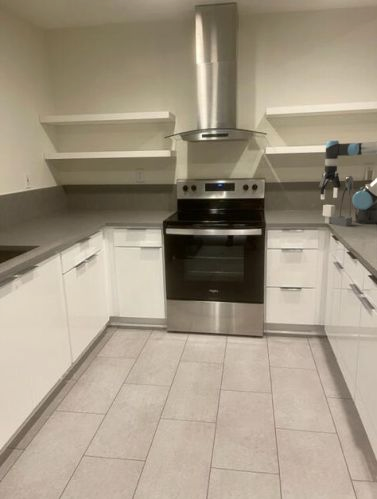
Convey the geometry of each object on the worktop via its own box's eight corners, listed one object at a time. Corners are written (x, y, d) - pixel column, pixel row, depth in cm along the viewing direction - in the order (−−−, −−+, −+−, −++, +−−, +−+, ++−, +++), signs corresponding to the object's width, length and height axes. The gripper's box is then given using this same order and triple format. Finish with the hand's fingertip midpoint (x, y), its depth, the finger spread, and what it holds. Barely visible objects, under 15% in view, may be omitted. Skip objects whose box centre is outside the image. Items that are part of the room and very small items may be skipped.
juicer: (356, 221, 254) (357, 175, 247) (338, 221, 259) (339, 176, 253) (358, 219, 262) (359, 175, 255) (341, 219, 267) (342, 175, 261)
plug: (326, 222, 257) (327, 204, 255) (334, 223, 253) (335, 205, 250) (322, 222, 255) (323, 205, 252) (330, 223, 250) (331, 206, 247)
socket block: (337, 223, 251) (338, 215, 250) (351, 225, 243) (352, 217, 242) (332, 224, 248) (332, 216, 247) (345, 226, 240) (346, 218, 239)
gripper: (337, 164, 255) (335, 196, 260) (313, 166, 241) (312, 199, 246) (347, 164, 249) (345, 197, 254) (324, 166, 235) (322, 200, 240)
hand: (329, 198), depth 250 cm, fingers open, 13 cm apart
